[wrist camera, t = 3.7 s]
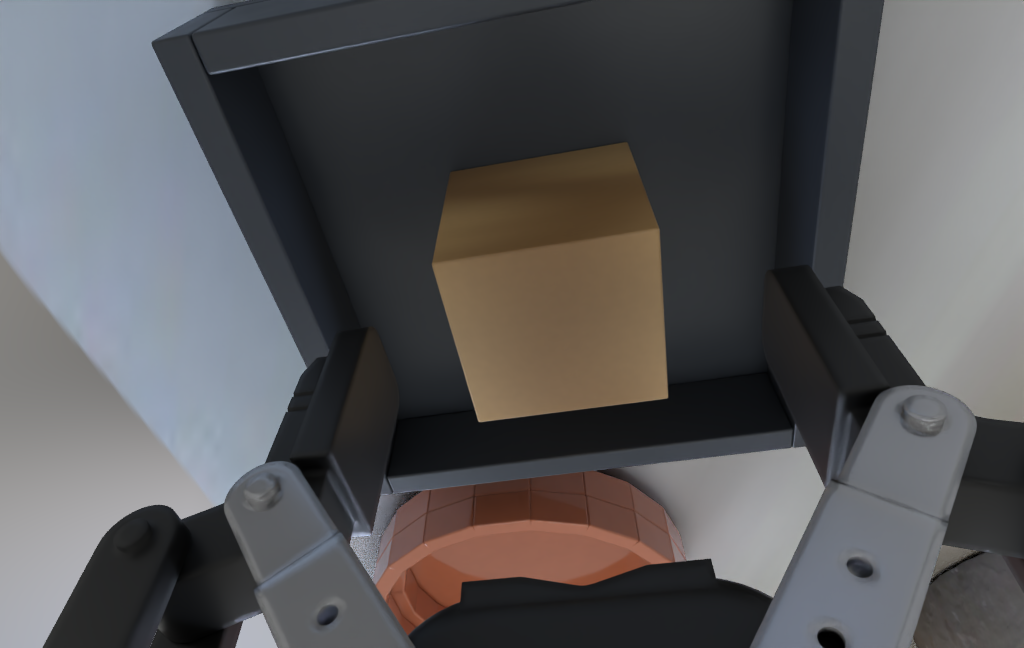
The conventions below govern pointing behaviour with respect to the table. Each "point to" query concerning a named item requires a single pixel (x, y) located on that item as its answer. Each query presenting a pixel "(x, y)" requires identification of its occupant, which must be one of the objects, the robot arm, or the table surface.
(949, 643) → the pillar candle
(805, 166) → the tray
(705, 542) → the table surface
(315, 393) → the robot arm
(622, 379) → the block
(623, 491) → the plate
